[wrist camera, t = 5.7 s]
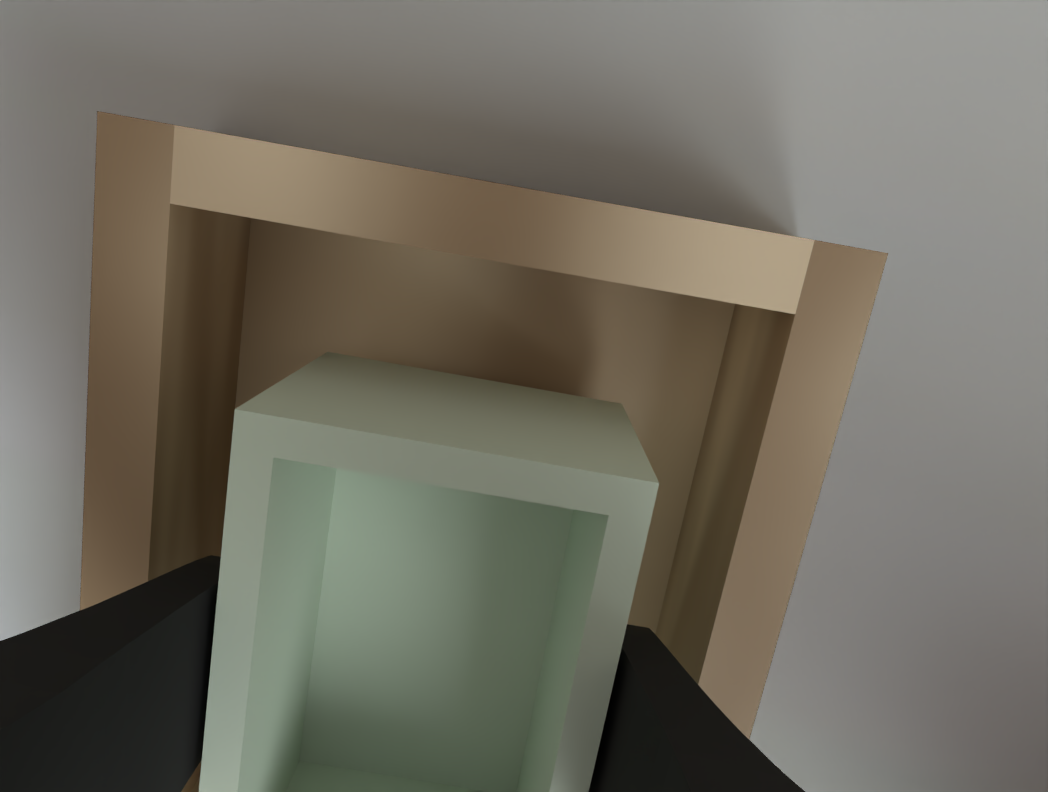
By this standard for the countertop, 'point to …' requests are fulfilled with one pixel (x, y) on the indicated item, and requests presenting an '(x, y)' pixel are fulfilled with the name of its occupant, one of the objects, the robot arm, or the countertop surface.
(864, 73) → the countertop surface
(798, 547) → the box
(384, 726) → the sage crate
